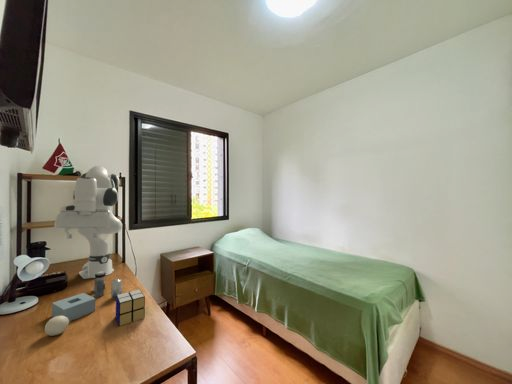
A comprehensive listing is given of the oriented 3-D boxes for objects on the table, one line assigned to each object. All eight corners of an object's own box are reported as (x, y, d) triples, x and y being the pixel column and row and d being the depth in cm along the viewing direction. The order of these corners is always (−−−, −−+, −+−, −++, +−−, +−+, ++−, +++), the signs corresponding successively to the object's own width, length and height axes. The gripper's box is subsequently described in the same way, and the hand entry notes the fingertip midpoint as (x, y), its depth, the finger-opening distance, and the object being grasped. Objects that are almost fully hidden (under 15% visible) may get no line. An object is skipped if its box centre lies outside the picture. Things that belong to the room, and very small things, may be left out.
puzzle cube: (115, 316, 98) (116, 294, 98) (139, 309, 104) (140, 288, 105) (118, 327, 90) (119, 303, 90) (144, 318, 97) (145, 296, 97)
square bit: (94, 296, 117) (94, 279, 118) (100, 294, 120) (101, 278, 120) (97, 297, 116) (97, 281, 116) (103, 295, 119) (104, 279, 119)
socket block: (51, 316, 98) (52, 302, 98) (83, 304, 108) (83, 292, 108) (63, 323, 92) (63, 309, 92) (95, 310, 102) (95, 298, 103)
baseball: (73, 330, 88) (73, 313, 88) (51, 341, 81) (51, 323, 81) (62, 326, 90) (63, 310, 90) (40, 337, 83) (41, 319, 83)
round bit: (109, 297, 116) (109, 281, 116) (118, 294, 120) (119, 278, 120) (114, 300, 114) (114, 283, 114) (123, 296, 118) (124, 279, 118)
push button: (91, 292, 122) (91, 275, 122) (91, 289, 126) (92, 272, 126) (105, 289, 126) (105, 272, 126) (105, 286, 130) (105, 270, 130)
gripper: (107, 210, 113) (106, 237, 110) (55, 209, 98) (52, 239, 95) (111, 208, 109) (110, 236, 106) (57, 206, 94) (54, 238, 91)
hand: (82, 237), depth 100 cm, fingers open, 8 cm apart
